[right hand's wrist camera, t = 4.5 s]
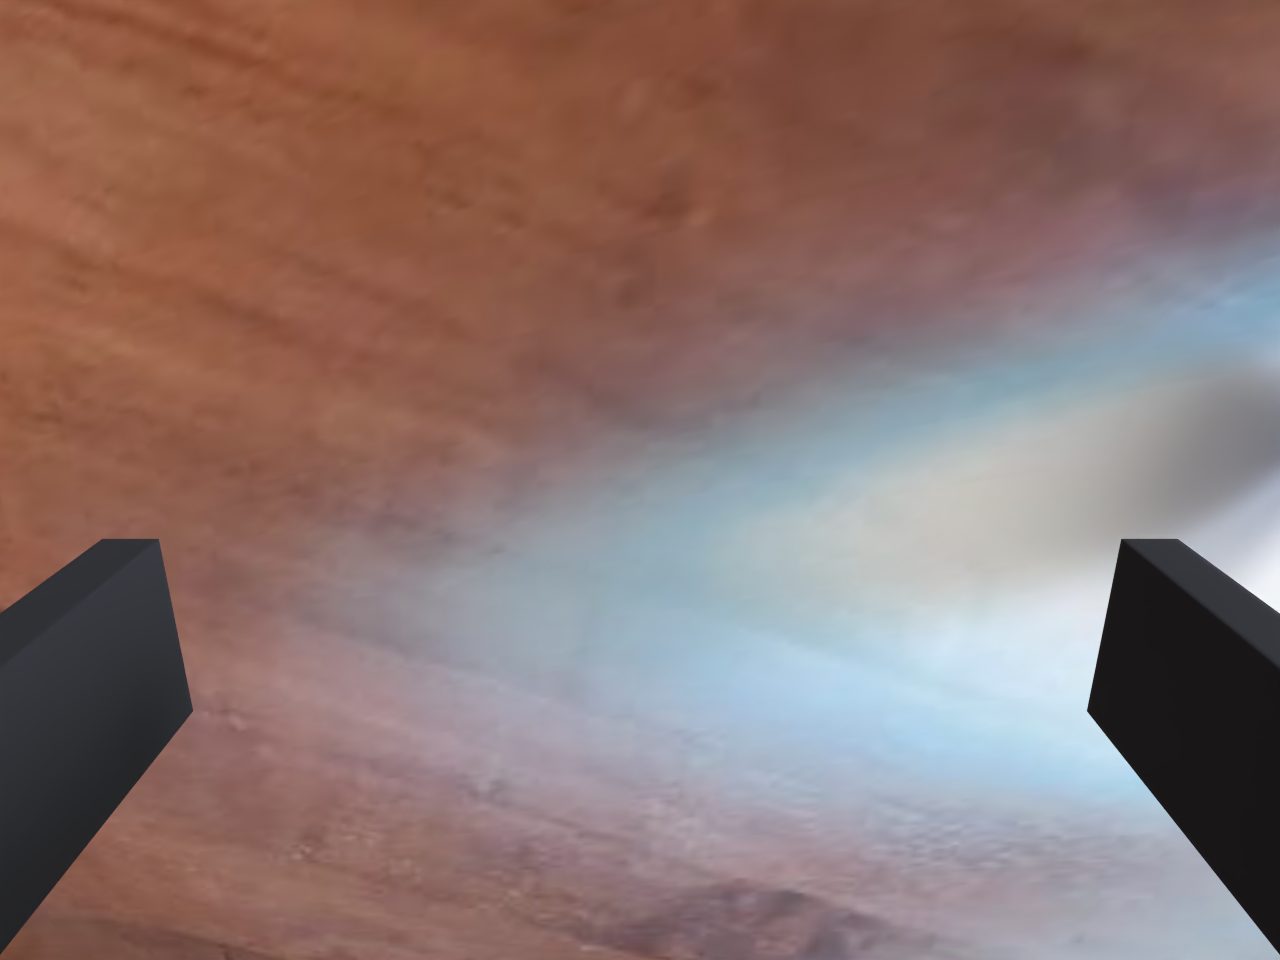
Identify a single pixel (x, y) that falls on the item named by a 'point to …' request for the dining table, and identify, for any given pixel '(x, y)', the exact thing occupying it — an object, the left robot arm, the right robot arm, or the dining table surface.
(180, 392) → the dining table surface
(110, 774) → the right robot arm
